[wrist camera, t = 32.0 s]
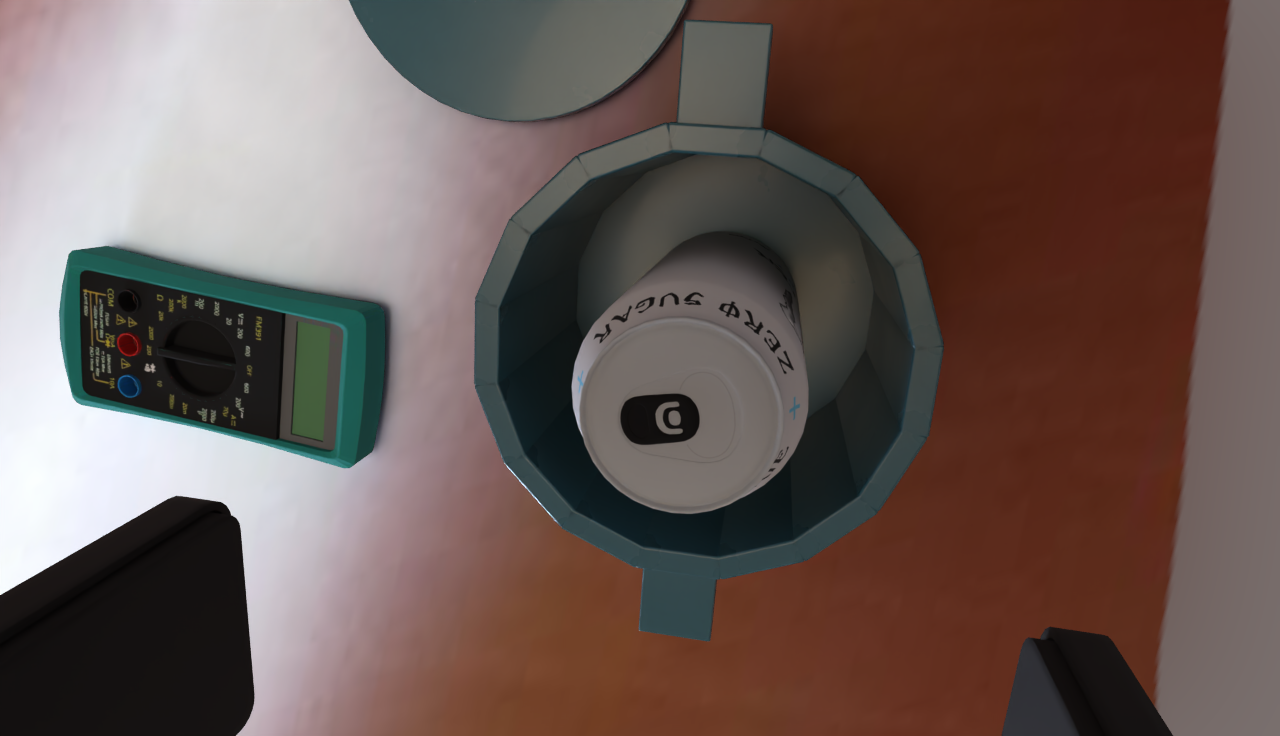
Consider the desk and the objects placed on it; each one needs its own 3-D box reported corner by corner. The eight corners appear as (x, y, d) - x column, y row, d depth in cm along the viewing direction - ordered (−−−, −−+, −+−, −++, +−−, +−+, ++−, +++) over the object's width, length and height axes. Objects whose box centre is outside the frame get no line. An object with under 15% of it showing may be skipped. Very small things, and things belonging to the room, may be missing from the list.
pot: (926, 69, 30) (999, 29, 20) (856, 531, 35) (886, 682, 25) (571, 51, 32) (477, 5, 22) (554, 491, 37) (470, 617, 27)
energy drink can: (803, 367, 33) (822, 531, 19) (660, 379, 34) (574, 542, 20) (790, 220, 32) (799, 276, 18) (641, 238, 33) (534, 305, 19)
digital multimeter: (97, 240, 38) (42, 247, 35) (395, 303, 36) (363, 316, 33) (101, 387, 40) (49, 405, 37) (382, 453, 38) (351, 477, 35)
